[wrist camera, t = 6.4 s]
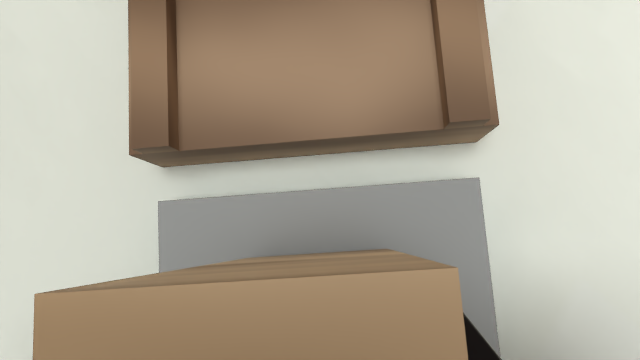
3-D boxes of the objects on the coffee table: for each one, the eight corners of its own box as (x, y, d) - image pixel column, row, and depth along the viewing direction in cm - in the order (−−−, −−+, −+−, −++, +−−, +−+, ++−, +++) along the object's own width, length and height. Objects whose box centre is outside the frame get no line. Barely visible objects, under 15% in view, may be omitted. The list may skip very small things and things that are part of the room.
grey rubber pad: (493, 415, 15) (509, 435, 13) (180, 426, 15) (161, 447, 14) (467, 183, 16) (479, 177, 14) (175, 204, 16) (158, 201, 15)
